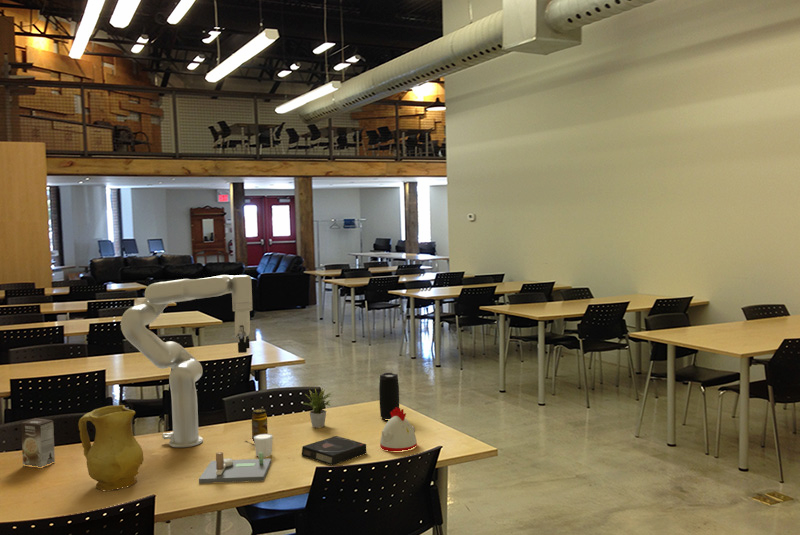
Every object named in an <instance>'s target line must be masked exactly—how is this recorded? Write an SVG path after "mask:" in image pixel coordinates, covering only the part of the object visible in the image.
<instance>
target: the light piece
mask: <svg viewBox="0 0 800 535" xmlns="http://www.w3.org/2000/svg"><path fill="white" fill-rule="evenodd" d="M233 460H234V459H233V458H229V457H228V458H224V452H222V451H221V452H220V451H219V452H216V453H215V461H216V469H217V471H216V475H221V474H222V472H223V471H224V469H225V467H229V466H232V465H233Z"/></svg>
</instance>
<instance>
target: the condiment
mask: <svg viewBox="0 0 800 535" xmlns="http://www.w3.org/2000/svg"><path fill="white" fill-rule="evenodd" d="M251 413H252V414H251V415H252V417H251V437H252V439H253V441H254V436H256V435H259V434H269V433H268V430H269V429H268V416H267V410H266V409H264V408H257V409H254V410H252V412H251Z"/></svg>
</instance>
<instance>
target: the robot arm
mask: <svg viewBox="0 0 800 535" xmlns="http://www.w3.org/2000/svg"><path fill="white" fill-rule="evenodd" d="M252 290H253V288H252V277H251V276H250V275H247V274H244V275H243V274H239V275H238V274H237V275H229V274H220V275H216V276H211V277H204V278H202V277H201V278H196V279H190V278H183V279H182V278H181V279H175V280H167V281H159V282H154V283H151V284H149V285H148V286H147V287H146V289H145V291H144V298H145V299H144V300H143V301H142V303H141V304H137V305H135V306H134V305H133V306H131V307H129V308H128V309H126V310H125V311H124V313H123V314H122V316H121V318H120V319H121V320H120V329H121V332H122V334H123V336H124V338H125V339H126V340H127V341H128V342H129V343H130V344H131V345H132V346H133V347H134V348H136V349H137V350H138V351H139V352H140V353H141V354H142V355H143V356H144V357H145V358H146V359H148V361H149V362H151V363H152V364H153V365H154V366H155V367H157V368H158V369H161V370H162V369H163V370H164V369H168V368H170V369H171V370H170V373H169V376H168V380H169V381H168V383H169V389H170V396H171V417H172V419H171V420H172V432H163V433H162V434H161V436H162V439H163V440H169V441H168V445H169V446H170V447H172V448H178V449H179V448H180V449H181V448H190V447H195V446H197V445H200V444H201V443H203V442H204V439H203V437H202V436H201V435H200V434H199V414H198V411H199V410H198V409H199V408H198V392H197V388H196V382H197V381H199V380H200V378H201V377H202V376H203V366H202V364H201V362H200V361H199V360H197V358H196V357H194V355H193V354H191V353H190V352H189V351H188V350H187V349H186V348H184V347H183V346H182V345H181V344H180V343H178V342H176V341H170V340H169V341H166V342H165V341H163V340H162V339H161V338H160V337H159V336H158V335H156V334H155V333H154V332H153V331H152V330H150V329H148V328H147V327H146V326H148V325H151V324H152V323H153V322H155V321H156V319H157V318H158V317H159V316H160V315H161V314H162V313H163V311H164V309H166V307H168V305H169V304H171V303H180V302H187V301H193V300H196V299H197V300H199V299H205V298H212V297H219V296H223V295H226V294H231V298H232V299H231V300H232V301H231V302H232V312H234V337H235V338H237V337H238V338H237V339H238V340H237V352H238V353H239V354H242V353H243V354H246V353H247V352H248V349H250V346H251V345H250V336H249V335H250V334H251V333H250V332H251V316H250V312H251V311H253V293H252V292H253V291H252Z"/></svg>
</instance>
